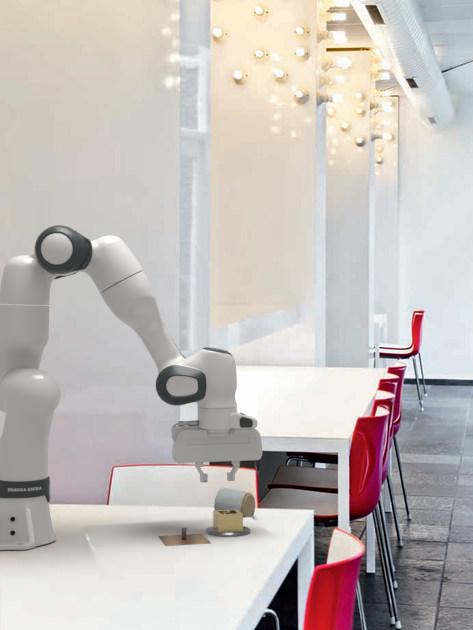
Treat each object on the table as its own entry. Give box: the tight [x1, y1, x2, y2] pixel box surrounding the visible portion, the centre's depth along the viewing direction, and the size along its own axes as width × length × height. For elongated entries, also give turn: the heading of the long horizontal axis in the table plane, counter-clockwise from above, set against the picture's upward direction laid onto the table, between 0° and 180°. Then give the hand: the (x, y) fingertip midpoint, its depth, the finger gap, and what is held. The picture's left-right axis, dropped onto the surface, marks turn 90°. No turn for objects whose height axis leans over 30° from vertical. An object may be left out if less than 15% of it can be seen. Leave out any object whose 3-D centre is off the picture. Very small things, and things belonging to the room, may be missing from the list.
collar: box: [212, 509, 244, 533], centre depth 250 cm, size 6×6×4 cm
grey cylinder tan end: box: [213, 486, 256, 519], centre depth 272 cm, size 11×8×8 cm
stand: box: [157, 527, 212, 547], centre depth 242 cm, size 10×10×4 cm
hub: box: [205, 510, 251, 538], centre depth 250 cm, size 10×10×6 cm
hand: (217, 481), depth 249 cm, fingers open, 5 cm apart
